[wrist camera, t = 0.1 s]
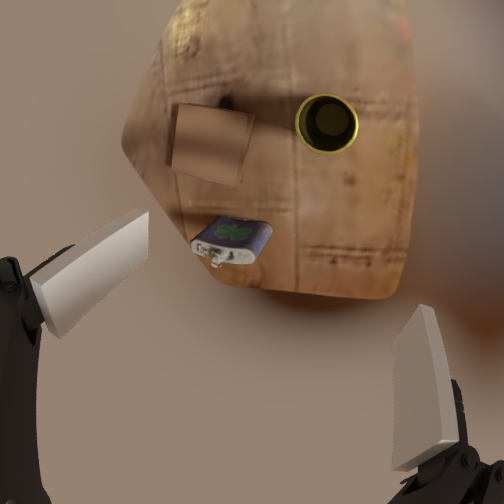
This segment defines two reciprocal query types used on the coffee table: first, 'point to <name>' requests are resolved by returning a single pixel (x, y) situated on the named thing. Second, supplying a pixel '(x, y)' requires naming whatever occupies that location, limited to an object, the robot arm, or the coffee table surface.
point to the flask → (232, 240)
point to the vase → (326, 123)
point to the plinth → (211, 143)
